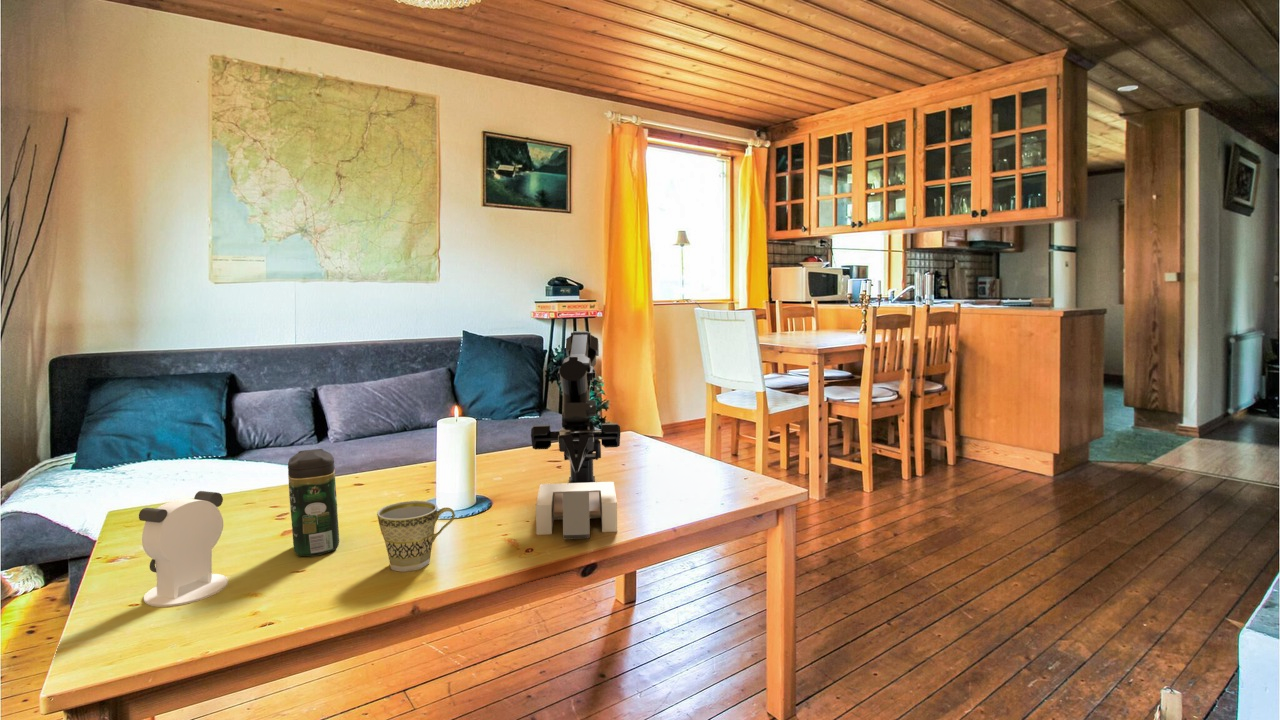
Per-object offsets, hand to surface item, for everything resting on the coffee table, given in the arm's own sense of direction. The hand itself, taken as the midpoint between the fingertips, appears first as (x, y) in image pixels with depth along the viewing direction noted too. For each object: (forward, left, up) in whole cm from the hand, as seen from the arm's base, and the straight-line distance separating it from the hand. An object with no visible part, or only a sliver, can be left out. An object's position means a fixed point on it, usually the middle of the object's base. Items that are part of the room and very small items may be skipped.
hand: (576, 471), depth 137 cm
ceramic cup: (+17, -28, -11) cm, 35 cm away
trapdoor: (+1, 0, -7) cm, 7 cm away
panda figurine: (+24, -63, -11) cm, 68 cm away
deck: (-2, 0, -11) cm, 11 cm away
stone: (+9, 0, -6) cm, 11 cm away
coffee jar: (+8, -49, -11) cm, 51 cm away
